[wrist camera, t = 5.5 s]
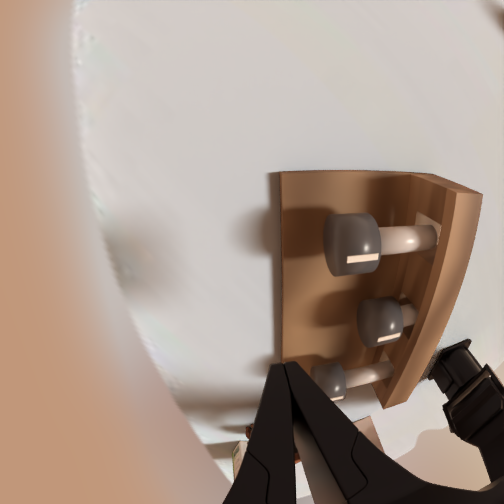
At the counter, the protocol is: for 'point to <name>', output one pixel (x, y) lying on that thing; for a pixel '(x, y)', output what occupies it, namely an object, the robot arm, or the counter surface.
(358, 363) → the panel
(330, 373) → the knob far
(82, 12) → the counter surface
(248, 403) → the counter surface
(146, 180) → the counter surface
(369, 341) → the knob middle
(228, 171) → the counter surface
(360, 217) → the knob near
